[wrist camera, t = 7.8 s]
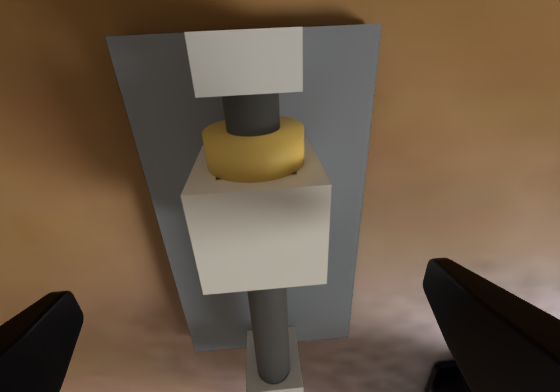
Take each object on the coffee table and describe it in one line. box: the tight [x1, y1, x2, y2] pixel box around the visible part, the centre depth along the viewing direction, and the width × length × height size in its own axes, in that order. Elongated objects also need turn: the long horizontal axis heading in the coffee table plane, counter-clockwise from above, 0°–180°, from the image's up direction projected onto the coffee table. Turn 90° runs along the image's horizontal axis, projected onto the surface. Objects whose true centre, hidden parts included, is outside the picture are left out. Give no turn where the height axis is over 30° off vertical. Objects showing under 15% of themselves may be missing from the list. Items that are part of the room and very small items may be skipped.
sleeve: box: [181, 138, 332, 295], centre depth 12 cm, size 4×4×4 cm
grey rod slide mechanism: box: [105, 24, 382, 392], centre depth 14 cm, size 18×10×5 cm, turn 2°
